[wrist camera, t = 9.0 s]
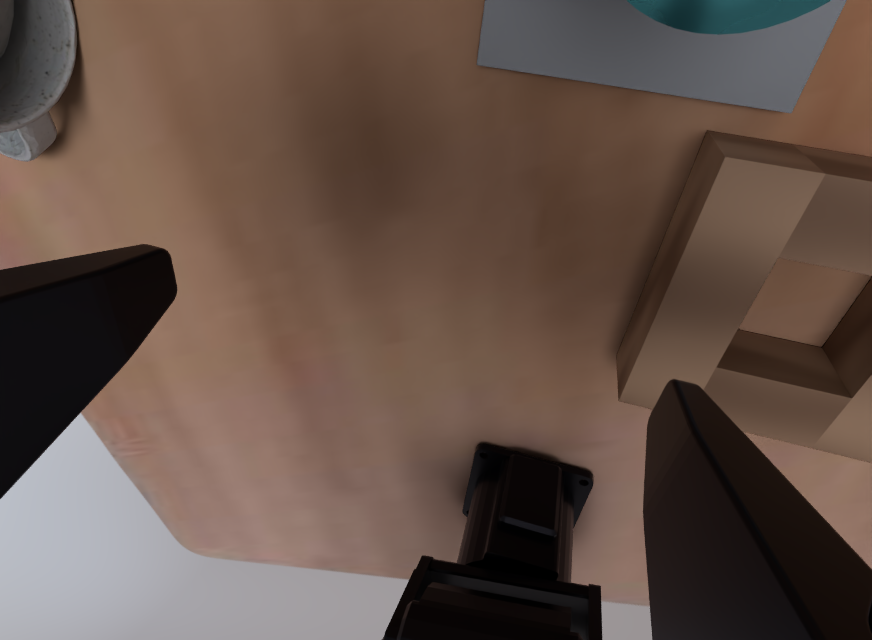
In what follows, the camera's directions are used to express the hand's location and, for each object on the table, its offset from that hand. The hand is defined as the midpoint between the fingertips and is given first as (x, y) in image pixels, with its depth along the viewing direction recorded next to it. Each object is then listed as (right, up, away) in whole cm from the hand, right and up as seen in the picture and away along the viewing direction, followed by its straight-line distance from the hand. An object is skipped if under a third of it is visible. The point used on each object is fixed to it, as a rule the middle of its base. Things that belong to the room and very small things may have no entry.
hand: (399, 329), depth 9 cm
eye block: (+14, +1, +10) cm, 18 cm away
